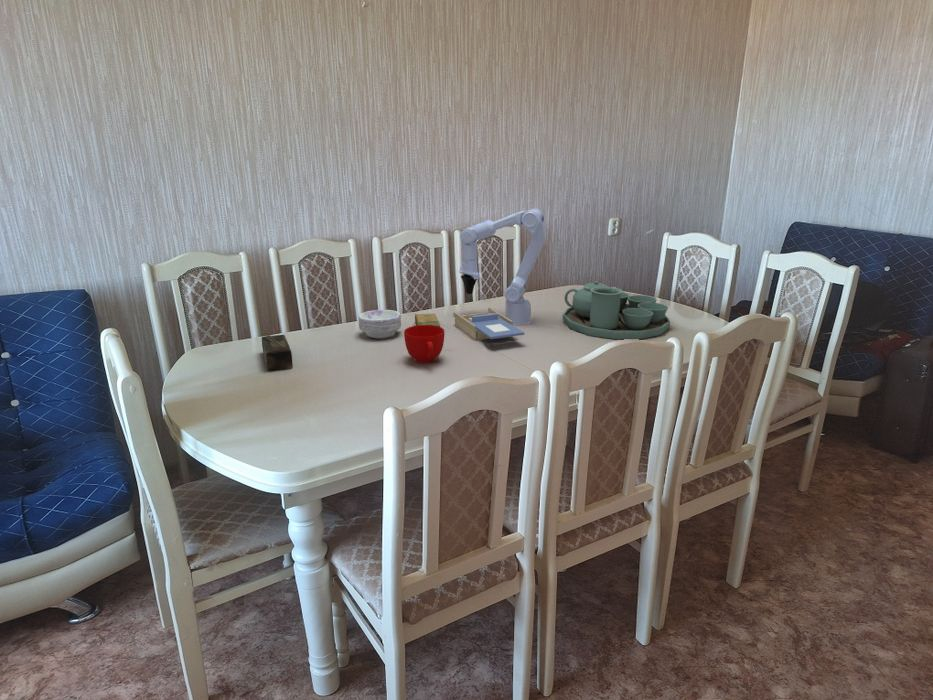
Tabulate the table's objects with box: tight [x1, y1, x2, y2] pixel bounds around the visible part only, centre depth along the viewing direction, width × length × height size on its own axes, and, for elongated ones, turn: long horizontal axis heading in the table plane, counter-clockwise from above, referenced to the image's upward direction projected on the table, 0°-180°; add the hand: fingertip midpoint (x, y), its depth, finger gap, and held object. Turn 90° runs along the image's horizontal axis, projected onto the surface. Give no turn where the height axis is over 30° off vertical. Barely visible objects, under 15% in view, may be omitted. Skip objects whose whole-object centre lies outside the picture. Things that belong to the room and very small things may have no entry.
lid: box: [469, 313, 525, 340], centre depth 212 cm, size 13×20×3 cm, turn 23°
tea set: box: [562, 280, 671, 340], centre depth 230 cm, size 40×40×16 cm
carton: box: [414, 313, 441, 327], centre depth 226 cm, size 8×16×4 cm, turn 9°
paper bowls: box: [358, 309, 402, 340], centre depth 218 cm, size 15×15×8 cm
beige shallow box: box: [452, 307, 514, 341], centre depth 222 cm, size 15×20×6 cm
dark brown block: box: [261, 334, 294, 372], centre depth 193 cm, size 8×19×7 cm, turn 22°
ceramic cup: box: [403, 325, 445, 364], centre depth 192 cm, size 13×17×10 cm
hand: (469, 293), depth 235 cm, fingers closed
